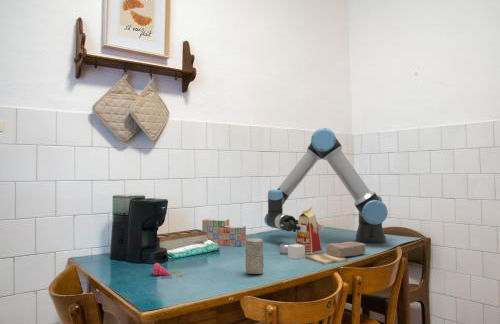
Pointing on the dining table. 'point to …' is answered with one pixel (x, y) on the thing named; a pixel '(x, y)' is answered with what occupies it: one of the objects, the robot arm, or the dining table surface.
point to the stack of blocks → (224, 232)
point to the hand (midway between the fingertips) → (314, 228)
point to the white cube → (296, 251)
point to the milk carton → (309, 233)
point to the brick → (345, 249)
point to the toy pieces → (164, 272)
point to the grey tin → (284, 249)
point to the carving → (254, 256)
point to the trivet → (326, 258)
